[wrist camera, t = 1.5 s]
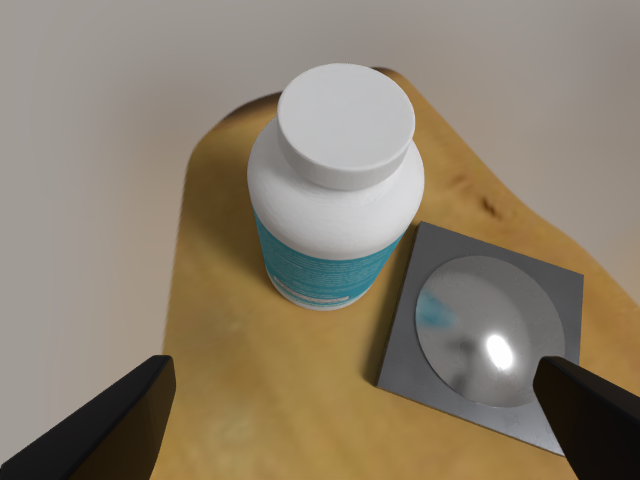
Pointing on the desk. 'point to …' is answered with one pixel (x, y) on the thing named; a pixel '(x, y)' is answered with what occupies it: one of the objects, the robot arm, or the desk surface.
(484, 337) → the flange plate
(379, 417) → the desk surface
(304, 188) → the pill bottle
